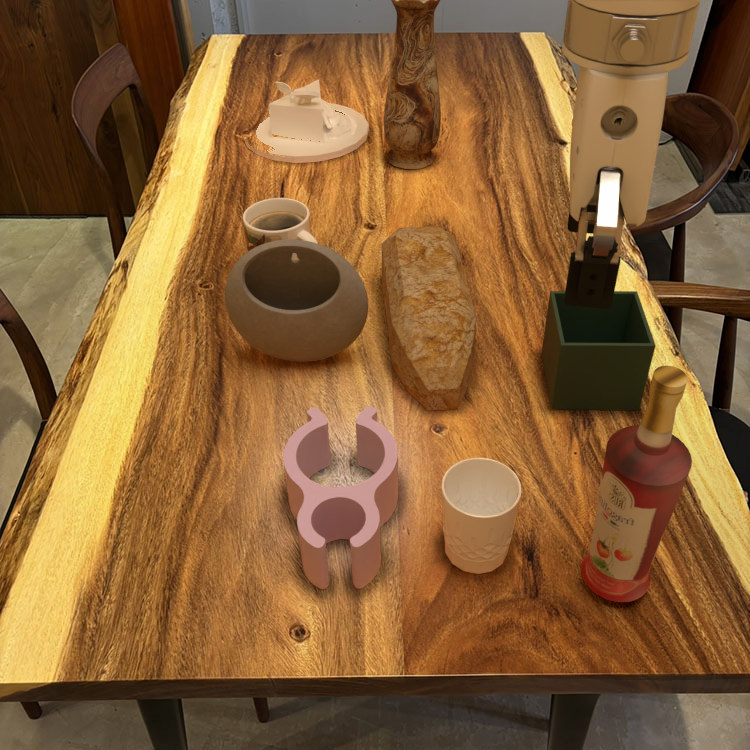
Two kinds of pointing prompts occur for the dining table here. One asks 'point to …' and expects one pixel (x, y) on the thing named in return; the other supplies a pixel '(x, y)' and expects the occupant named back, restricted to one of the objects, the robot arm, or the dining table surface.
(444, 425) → the dining table surface
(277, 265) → the planter
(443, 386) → the bread
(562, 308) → the green square box
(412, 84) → the vase
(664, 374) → the liquor
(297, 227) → the mug
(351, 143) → the dish
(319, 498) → the clip
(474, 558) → the white cup
